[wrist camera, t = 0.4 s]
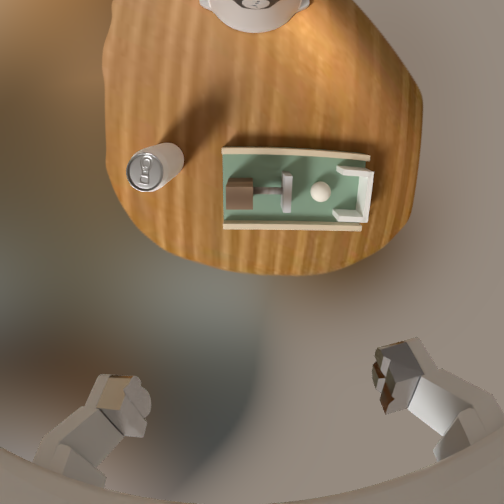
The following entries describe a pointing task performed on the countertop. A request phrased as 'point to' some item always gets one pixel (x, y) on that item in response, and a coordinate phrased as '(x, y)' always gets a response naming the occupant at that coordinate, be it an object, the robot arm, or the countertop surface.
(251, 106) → the countertop surface
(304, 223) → the pitch
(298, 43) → the countertop surface
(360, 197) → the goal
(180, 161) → the can
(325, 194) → the ball
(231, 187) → the block
